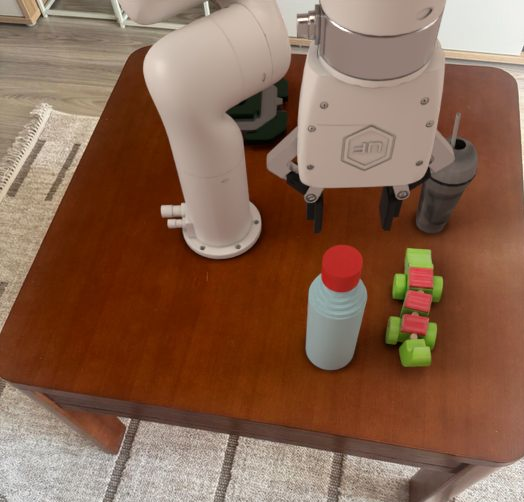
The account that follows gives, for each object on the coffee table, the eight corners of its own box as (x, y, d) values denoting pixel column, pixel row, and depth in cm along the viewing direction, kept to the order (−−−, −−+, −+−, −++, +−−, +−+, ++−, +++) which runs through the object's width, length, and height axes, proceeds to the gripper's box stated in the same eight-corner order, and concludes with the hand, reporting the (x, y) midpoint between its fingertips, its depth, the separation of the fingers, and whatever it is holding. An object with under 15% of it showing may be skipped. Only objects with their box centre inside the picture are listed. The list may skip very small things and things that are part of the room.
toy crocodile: (395, 257, 80) (403, 231, 75) (440, 263, 79) (451, 238, 74) (380, 372, 72) (387, 353, 66) (429, 381, 71) (441, 362, 65)
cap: (322, 293, 57) (323, 278, 55) (320, 261, 59) (321, 245, 57) (361, 292, 57) (364, 277, 55) (358, 260, 59) (361, 244, 56)
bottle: (306, 370, 72) (311, 291, 55) (304, 327, 76) (309, 239, 58) (356, 369, 72) (377, 289, 54) (352, 326, 75) (371, 237, 57)
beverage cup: (452, 243, 81) (498, 138, 63) (404, 237, 82) (436, 132, 64) (454, 207, 84) (499, 97, 66) (408, 201, 85) (440, 92, 67)
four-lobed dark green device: (194, 83, 101) (190, 61, 97) (288, 82, 100) (288, 59, 95) (184, 151, 93) (179, 130, 89) (286, 150, 92) (286, 129, 87)
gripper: (242, 74, 32) (259, 255, 48) (528, 60, 31) (449, 249, 48) (244, 2, 36) (259, 193, 52) (503, -12, 35) (436, 187, 51)
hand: (350, 219), depth 49 cm, fingers open, 5 cm apart
